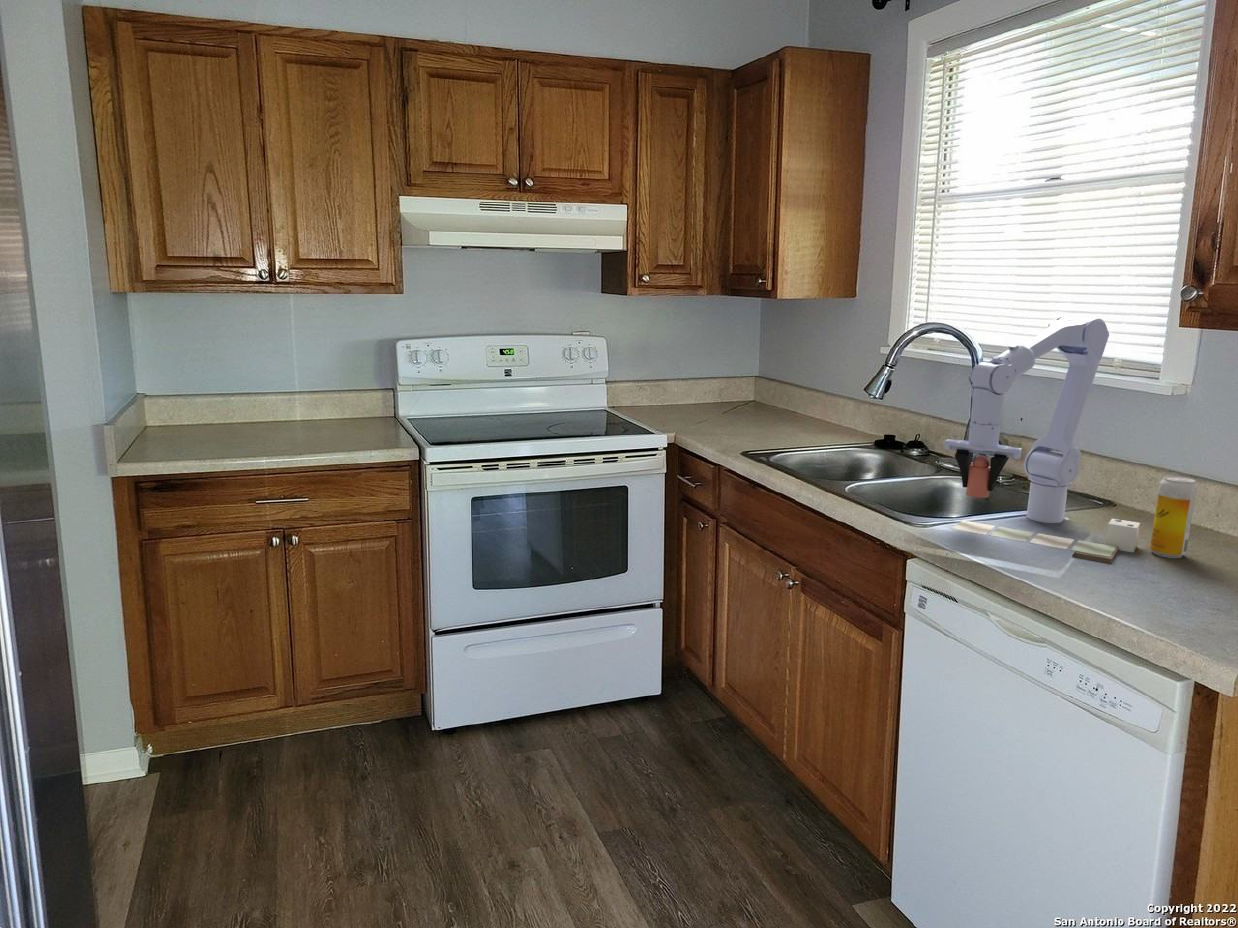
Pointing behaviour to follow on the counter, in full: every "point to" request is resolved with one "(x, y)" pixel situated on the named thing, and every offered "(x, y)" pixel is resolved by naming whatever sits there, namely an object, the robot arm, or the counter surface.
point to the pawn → (978, 478)
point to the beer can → (1173, 516)
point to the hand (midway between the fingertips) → (978, 488)
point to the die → (1123, 534)
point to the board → (1045, 541)
